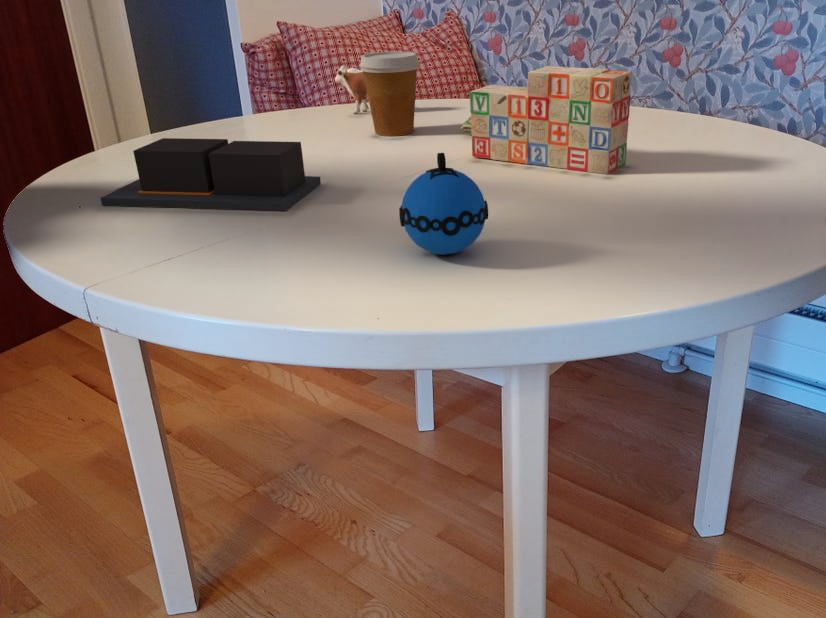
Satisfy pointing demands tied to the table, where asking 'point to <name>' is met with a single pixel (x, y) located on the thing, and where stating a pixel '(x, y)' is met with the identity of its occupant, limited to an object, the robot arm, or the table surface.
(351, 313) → the table surface
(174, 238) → the table surface
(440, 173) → the ornament
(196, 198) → the pad base
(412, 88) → the disposable coffee cup
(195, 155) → the loose block
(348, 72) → the bull figurine
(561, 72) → the stack of blocks
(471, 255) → the table surface
